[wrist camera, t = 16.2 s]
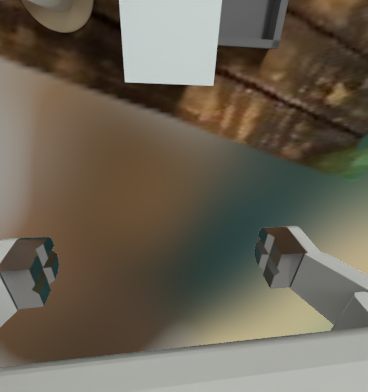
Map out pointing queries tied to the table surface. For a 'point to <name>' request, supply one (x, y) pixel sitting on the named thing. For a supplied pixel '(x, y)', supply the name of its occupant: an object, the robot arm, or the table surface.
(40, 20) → the coaster
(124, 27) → the tunnel
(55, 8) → the shaker
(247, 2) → the tray
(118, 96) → the table surface
